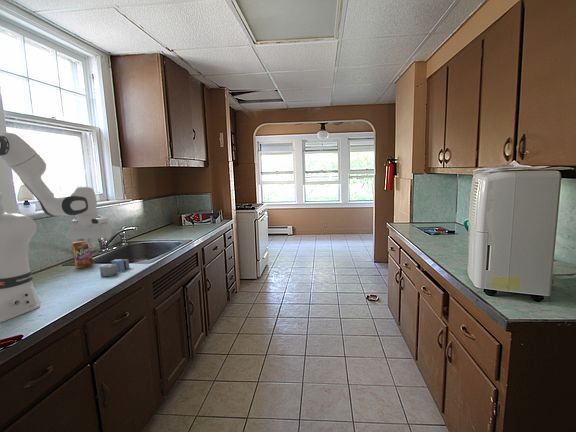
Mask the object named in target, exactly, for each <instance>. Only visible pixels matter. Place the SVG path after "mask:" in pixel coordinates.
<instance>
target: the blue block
mask: <svg viewBox="0 0 576 432" xmlns="http://www.w3.org/2000/svg"><path fill="white" fill-rule="evenodd" d="M124 259H125V258H122V259H121V258H119V259H116V258H115V259H113V260H111V261H110V264H116V265H117V271H118V272H117V273H119V272H123V271H125V270H126V269H125V267H124Z"/></svg>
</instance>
